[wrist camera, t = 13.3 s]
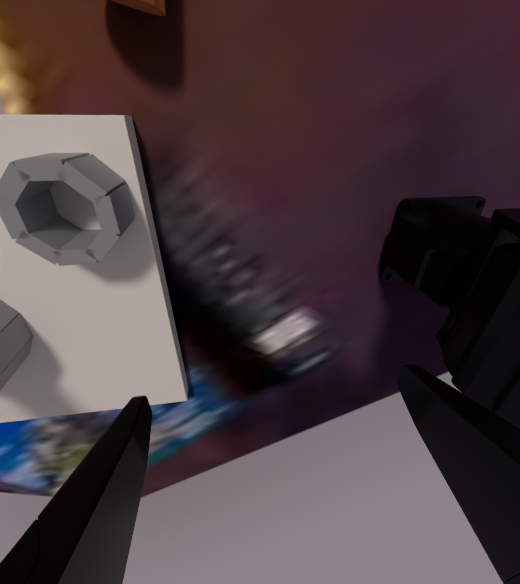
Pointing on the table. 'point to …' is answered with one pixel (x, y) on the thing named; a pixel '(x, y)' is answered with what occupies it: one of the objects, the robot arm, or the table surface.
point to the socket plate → (80, 272)
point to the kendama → (146, 6)
